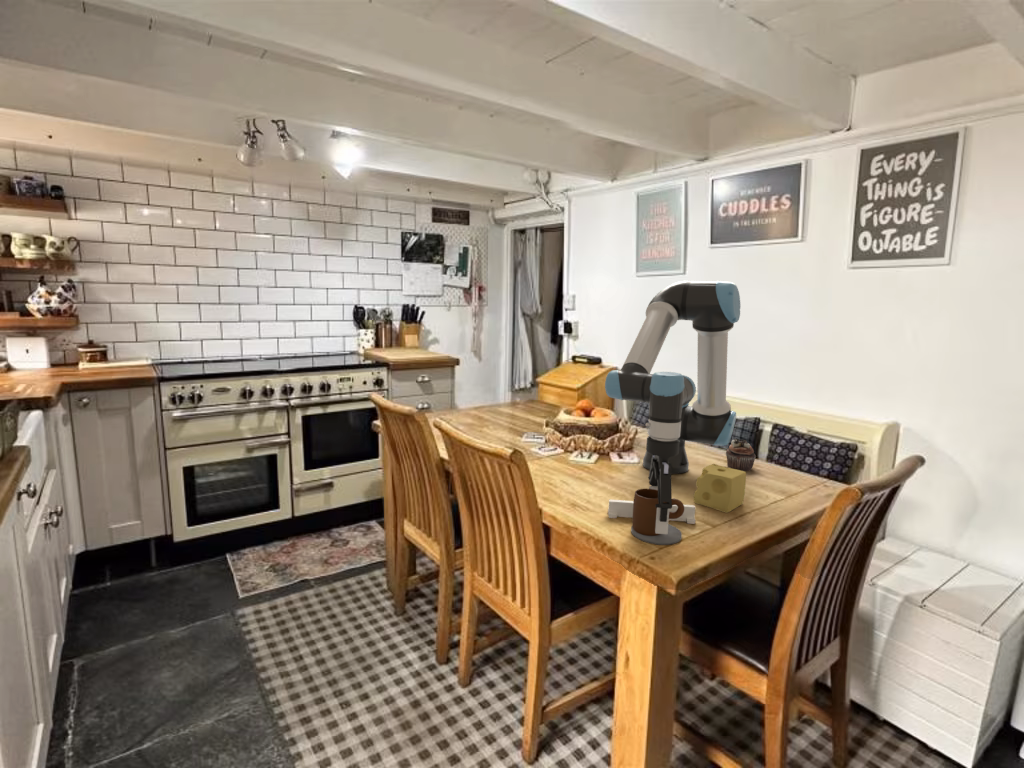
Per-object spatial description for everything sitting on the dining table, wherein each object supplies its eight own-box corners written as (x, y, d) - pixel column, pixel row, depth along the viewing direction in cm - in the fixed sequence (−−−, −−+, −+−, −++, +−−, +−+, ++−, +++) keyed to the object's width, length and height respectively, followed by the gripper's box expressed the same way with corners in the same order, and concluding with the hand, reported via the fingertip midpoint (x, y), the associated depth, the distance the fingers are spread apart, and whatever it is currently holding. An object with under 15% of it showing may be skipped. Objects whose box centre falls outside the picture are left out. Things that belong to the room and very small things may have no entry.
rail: (607, 511, 147) (608, 497, 146) (691, 517, 144) (693, 503, 144) (608, 517, 143) (609, 503, 142) (695, 523, 140) (696, 509, 140)
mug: (684, 531, 134) (687, 494, 133) (679, 543, 127) (683, 504, 126) (635, 521, 139) (637, 486, 137) (628, 532, 132) (631, 495, 131)
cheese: (693, 503, 155) (695, 469, 153) (710, 494, 162) (713, 462, 161) (728, 514, 148) (732, 479, 146) (745, 504, 155) (748, 470, 154)
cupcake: (758, 472, 184) (761, 444, 183) (728, 470, 186) (730, 442, 184) (750, 464, 194) (753, 437, 192) (721, 462, 195) (724, 435, 193)
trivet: (628, 522, 140) (629, 519, 140) (676, 525, 139) (676, 522, 139) (633, 542, 129) (634, 539, 128) (686, 546, 127) (686, 543, 127)
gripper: (641, 424, 143) (635, 501, 146) (654, 450, 118) (647, 542, 121) (670, 425, 142) (664, 503, 145) (690, 452, 117) (682, 545, 121)
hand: (657, 521), depth 133 cm, fingers open, 13 cm apart
